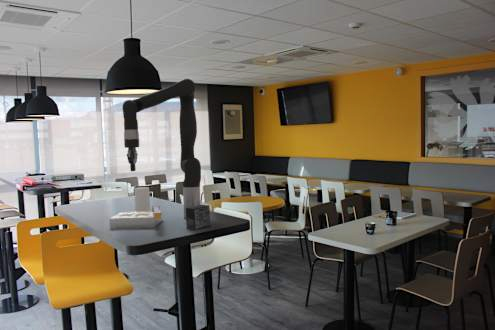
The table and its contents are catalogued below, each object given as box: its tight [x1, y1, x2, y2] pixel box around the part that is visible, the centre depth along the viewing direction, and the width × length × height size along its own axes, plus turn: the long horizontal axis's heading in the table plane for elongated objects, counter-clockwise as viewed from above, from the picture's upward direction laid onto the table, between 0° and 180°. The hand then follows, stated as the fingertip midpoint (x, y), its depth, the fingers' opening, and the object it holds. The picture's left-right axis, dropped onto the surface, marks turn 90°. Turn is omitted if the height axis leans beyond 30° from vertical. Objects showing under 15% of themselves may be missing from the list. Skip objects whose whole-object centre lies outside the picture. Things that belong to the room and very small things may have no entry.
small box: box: [185, 204, 211, 231], centre depth 192 cm, size 11×6×10 cm, turn 141°
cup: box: [133, 186, 151, 212], centre depth 229 cm, size 8×8×16 cm
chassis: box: [109, 210, 163, 230], centre depth 204 cm, size 22×18×6 cm
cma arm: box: [151, 205, 161, 220], centre depth 195 cm, size 22×4×3 cm, turn 15°
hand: (133, 171), depth 211 cm, fingers closed
